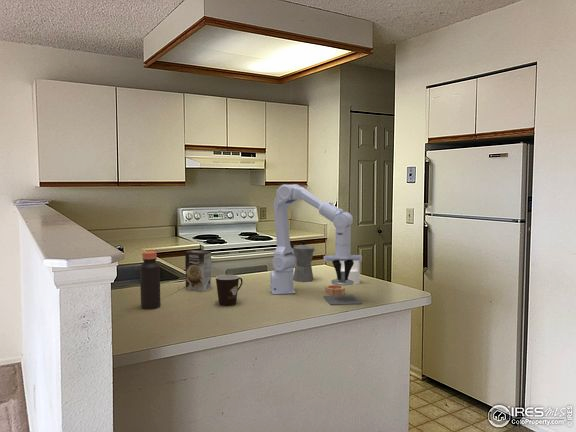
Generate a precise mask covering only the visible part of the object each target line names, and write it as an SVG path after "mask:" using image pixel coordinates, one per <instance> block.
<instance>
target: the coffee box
mask: <svg viewBox="0 0 576 432" xmlns="http://www.w3.org/2000/svg"><path fill="white" fill-rule="evenodd" d="M184 253H185V254H184V255H185V256H184V257H185V258H184V259H185V260H184V261H185V263H184V264H185V265H184V266H185V290H187V291H193V292H194V291H195V292H200V293H201V292H204V293H205V292H206V291H209V290H211V289H212V251H211V250H199V249H191V250H187V251H185V252H184Z"/></svg>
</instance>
